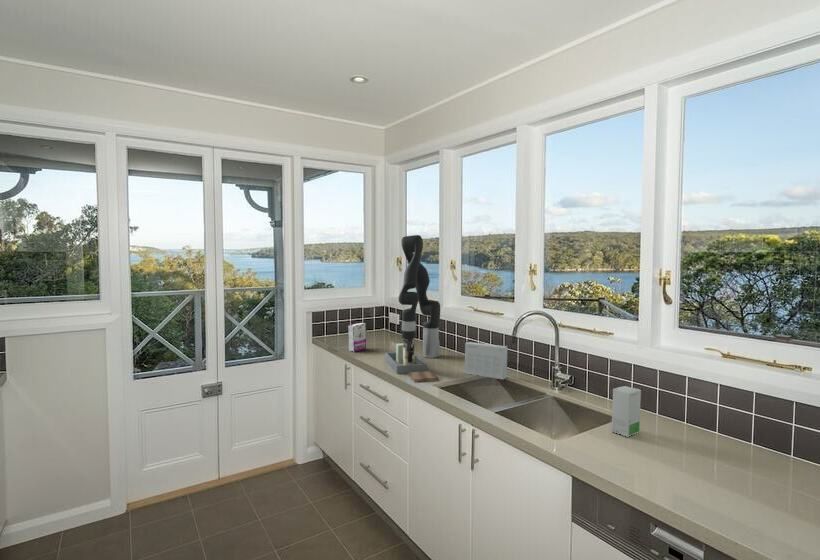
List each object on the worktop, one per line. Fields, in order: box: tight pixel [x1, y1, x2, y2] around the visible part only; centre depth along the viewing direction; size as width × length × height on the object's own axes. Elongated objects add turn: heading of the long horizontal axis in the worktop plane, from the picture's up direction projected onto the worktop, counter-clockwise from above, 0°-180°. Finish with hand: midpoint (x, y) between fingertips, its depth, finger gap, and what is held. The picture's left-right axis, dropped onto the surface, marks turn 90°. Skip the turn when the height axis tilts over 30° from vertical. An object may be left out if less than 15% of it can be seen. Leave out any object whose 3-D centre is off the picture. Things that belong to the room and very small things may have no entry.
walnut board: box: [407, 370, 439, 383], centre depth 226 cm, size 12×12×2 cm
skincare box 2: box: [610, 385, 642, 438], centre depth 161 cm, size 8×7×16 cm
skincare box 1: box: [464, 341, 508, 381], centre depth 231 cm, size 21×5×16 cm, turn 59°
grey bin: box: [384, 351, 428, 374], centre depth 249 cm, size 16×30×4 cm, turn 15°
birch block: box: [402, 347, 415, 365], centre depth 242 cm, size 5×5×10 cm
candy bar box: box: [347, 322, 367, 353], centre depth 284 cm, size 11×5×16 cm, turn 143°
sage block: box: [395, 342, 404, 364], centre depth 257 cm, size 5×5×10 cm
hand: (408, 360), depth 243 cm, fingers closed on birch block, 5 cm apart
